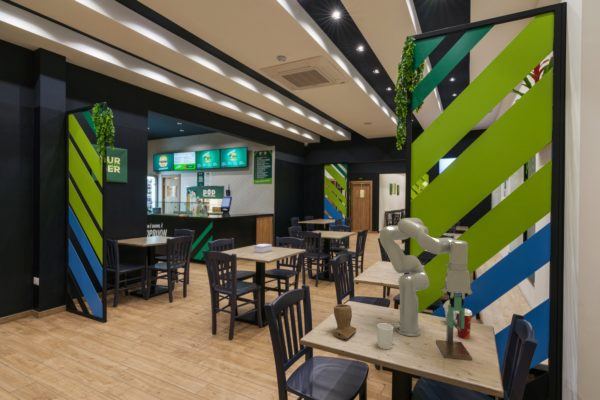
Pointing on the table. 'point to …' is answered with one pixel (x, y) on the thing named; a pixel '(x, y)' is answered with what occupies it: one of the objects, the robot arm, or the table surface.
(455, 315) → the soap dispenser
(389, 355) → the table surface
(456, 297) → the green link
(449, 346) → the hook stand
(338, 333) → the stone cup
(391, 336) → the white cup
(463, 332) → the paper cup
